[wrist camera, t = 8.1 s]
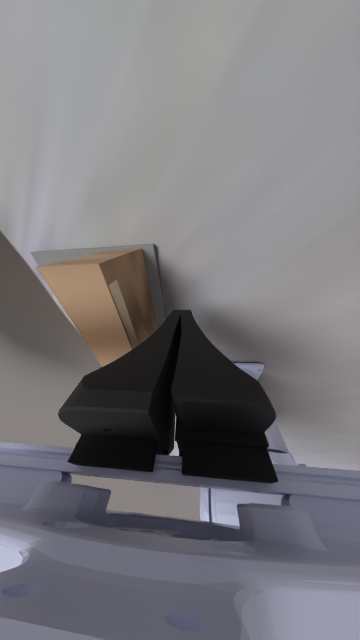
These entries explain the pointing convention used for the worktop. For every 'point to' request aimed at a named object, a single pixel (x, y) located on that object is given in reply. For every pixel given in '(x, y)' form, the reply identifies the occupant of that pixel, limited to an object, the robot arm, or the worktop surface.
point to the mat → (147, 250)
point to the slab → (105, 299)
